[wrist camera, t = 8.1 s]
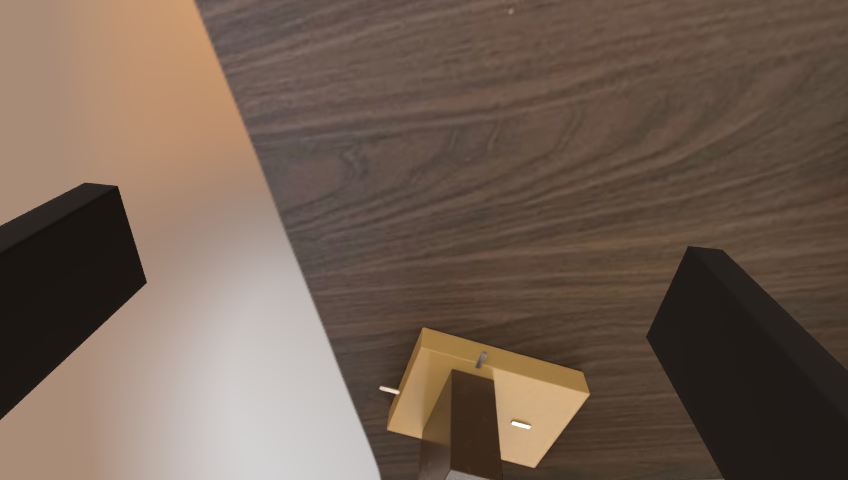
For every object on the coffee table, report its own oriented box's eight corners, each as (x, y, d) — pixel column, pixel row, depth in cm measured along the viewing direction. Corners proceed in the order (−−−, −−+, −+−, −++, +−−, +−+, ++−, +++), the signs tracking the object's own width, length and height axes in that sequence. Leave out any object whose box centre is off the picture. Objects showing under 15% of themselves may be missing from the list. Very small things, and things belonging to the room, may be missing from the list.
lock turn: (451, 368, 28) (450, 473, 22) (494, 379, 29) (504, 487, 22) (421, 431, 32) (412, 537, 26) (460, 440, 32) (460, 549, 26)
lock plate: (367, 411, 34) (362, 435, 32) (405, 308, 29) (401, 330, 27) (525, 452, 35) (529, 478, 34) (590, 361, 30) (599, 385, 28)
